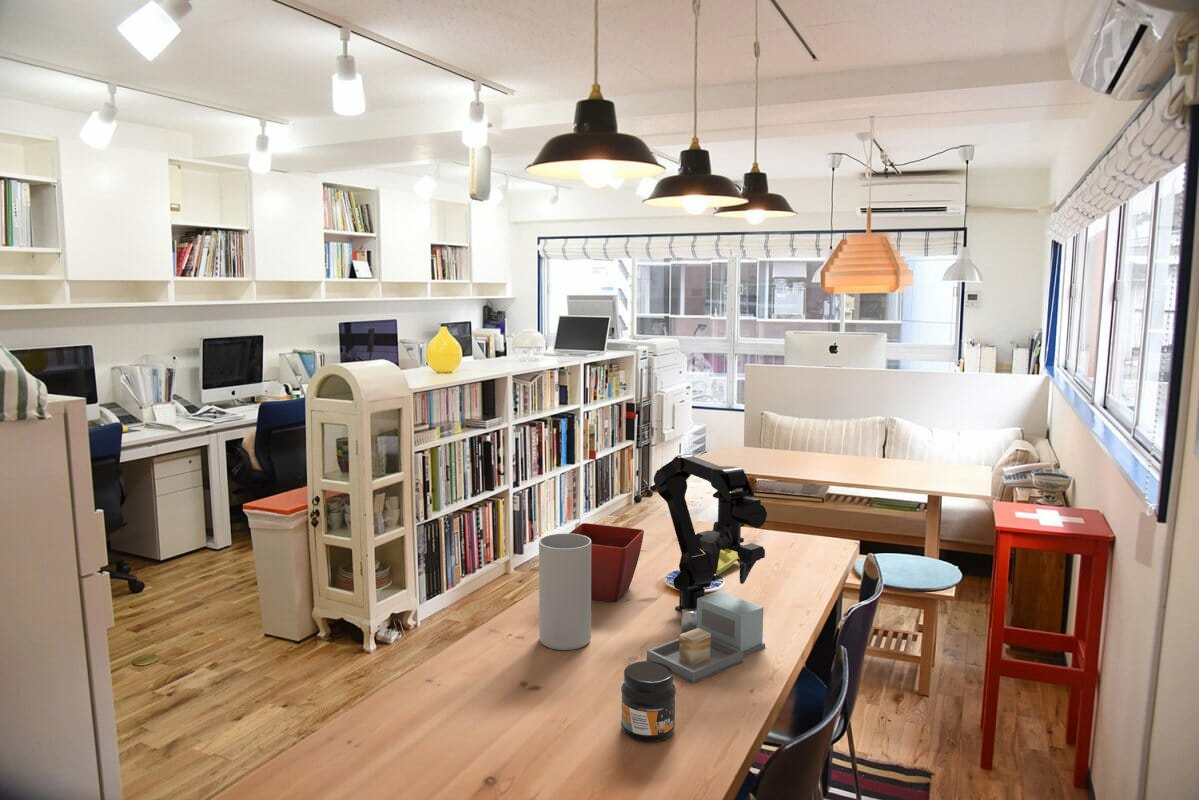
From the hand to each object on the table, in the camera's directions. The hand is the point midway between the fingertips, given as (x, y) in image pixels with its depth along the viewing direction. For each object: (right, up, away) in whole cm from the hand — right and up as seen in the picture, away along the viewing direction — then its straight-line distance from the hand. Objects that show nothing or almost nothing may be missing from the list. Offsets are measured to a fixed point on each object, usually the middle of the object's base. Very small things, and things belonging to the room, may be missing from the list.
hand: (727, 578), depth 209 cm
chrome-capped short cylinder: (-9, -13, 0) cm, 16 cm away
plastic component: (+4, -7, +48) cm, 49 cm away
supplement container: (-23, -20, -47) cm, 56 cm away
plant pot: (-31, -10, +26) cm, 42 cm away
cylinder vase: (-40, -14, -6) cm, 43 cm away
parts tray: (-10, -15, -17) cm, 25 cm away
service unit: (-1, -14, -7) cm, 16 cm away
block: (-10, -15, -17) cm, 25 cm away
